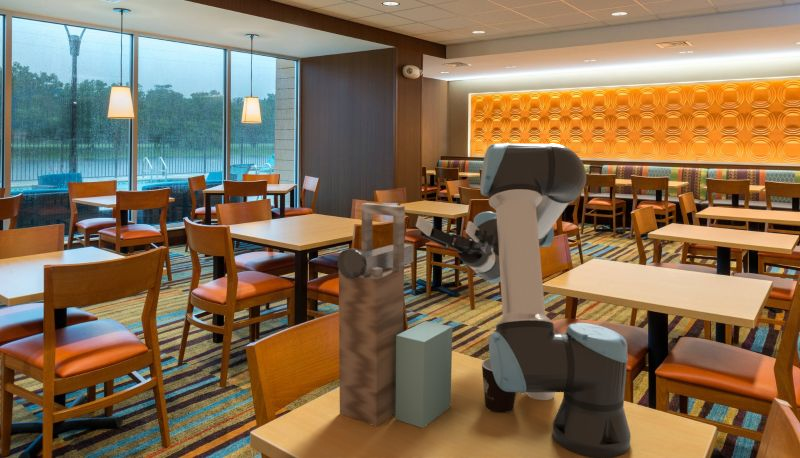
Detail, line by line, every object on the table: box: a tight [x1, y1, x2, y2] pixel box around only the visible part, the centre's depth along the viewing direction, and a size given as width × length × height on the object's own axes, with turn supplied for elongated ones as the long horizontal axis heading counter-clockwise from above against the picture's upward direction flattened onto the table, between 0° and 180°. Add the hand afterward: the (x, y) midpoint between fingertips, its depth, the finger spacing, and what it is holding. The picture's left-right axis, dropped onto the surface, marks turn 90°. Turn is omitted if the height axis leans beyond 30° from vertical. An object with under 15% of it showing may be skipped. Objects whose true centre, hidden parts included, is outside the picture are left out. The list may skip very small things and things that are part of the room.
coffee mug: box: [481, 357, 517, 414], centre depth 136 cm, size 12×9×10 cm
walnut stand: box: [338, 202, 406, 427], centre depth 129 cm, size 10×10×46 cm
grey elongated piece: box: [336, 243, 414, 279], centre depth 129 cm, size 6×21×6 cm, turn 146°
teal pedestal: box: [394, 320, 453, 429], centre depth 130 cm, size 7×12×19 cm, turn 146°
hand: (442, 223), depth 140 cm, fingers open, 13 cm apart
